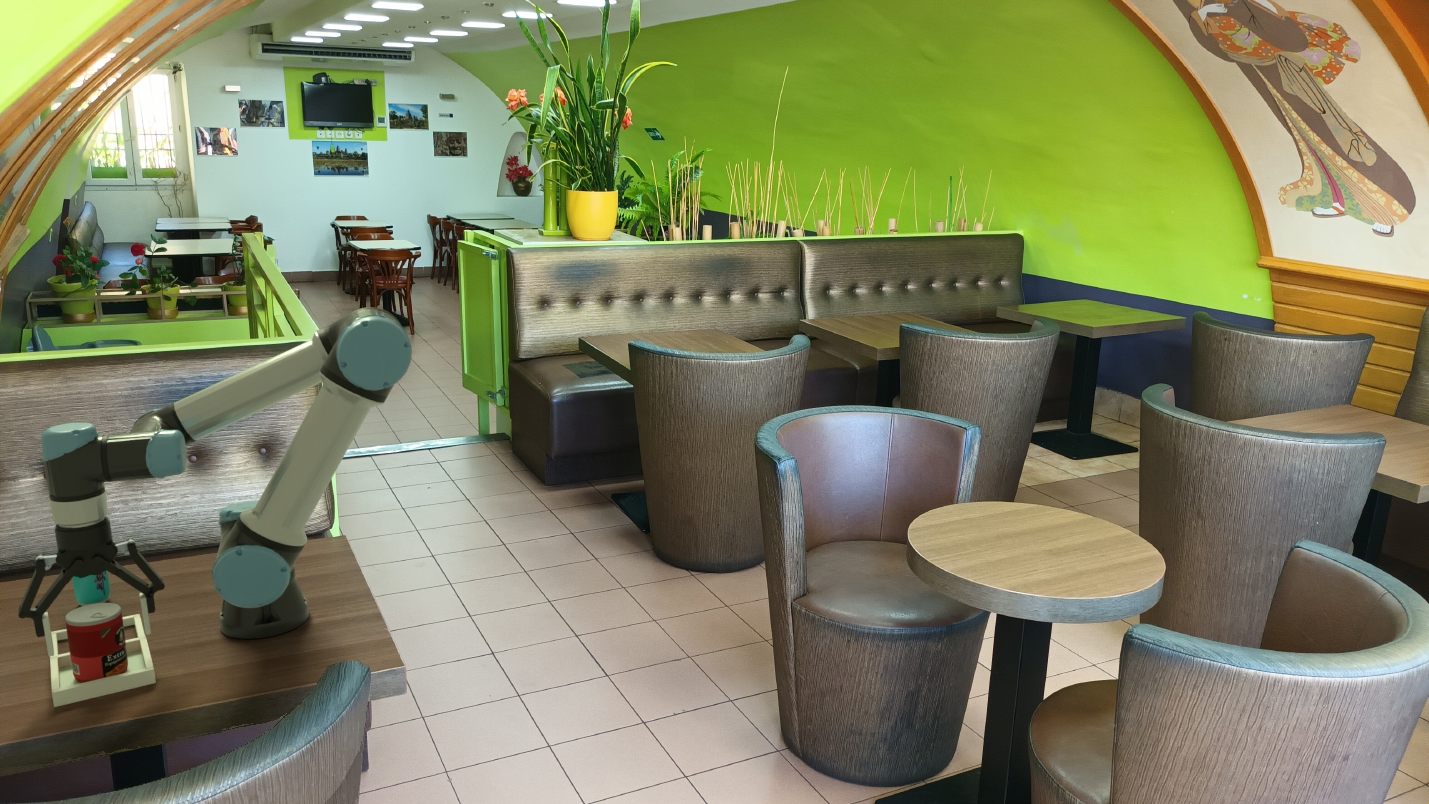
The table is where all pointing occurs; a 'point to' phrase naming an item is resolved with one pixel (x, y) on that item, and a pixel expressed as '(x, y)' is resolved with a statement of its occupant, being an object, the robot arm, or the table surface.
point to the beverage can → (92, 589)
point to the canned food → (96, 641)
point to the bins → (74, 691)
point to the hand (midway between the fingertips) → (100, 642)
